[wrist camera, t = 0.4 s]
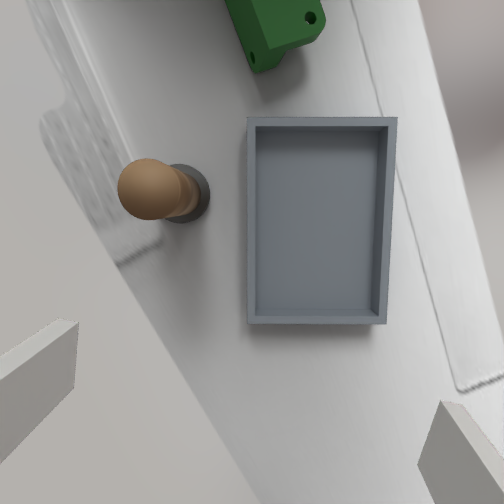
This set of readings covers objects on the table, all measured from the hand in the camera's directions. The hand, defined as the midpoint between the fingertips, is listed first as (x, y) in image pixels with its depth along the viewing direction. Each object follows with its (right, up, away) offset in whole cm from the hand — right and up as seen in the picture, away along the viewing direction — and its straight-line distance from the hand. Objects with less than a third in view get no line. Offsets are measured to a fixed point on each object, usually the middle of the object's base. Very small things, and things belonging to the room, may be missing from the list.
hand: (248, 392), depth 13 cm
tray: (+7, +8, +25) cm, 27 cm away
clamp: (+2, +29, +23) cm, 37 cm away
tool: (-7, +11, +25) cm, 28 cm away
